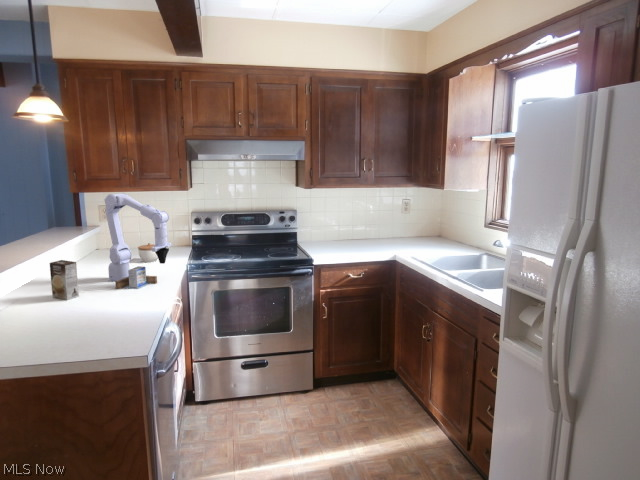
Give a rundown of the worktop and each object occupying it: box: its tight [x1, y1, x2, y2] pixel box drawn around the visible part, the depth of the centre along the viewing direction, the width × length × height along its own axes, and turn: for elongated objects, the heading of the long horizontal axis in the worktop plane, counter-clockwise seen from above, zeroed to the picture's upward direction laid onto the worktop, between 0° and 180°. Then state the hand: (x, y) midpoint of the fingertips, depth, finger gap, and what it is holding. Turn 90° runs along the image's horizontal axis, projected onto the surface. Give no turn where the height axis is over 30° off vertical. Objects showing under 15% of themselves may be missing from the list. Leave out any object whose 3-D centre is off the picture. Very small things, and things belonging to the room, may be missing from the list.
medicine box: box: [128, 265, 147, 288], centre depth 211 cm, size 8×4×9 cm, turn 170°
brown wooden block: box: [115, 275, 158, 290], centre depth 211 cm, size 13×14×4 cm
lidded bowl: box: [137, 242, 159, 263], centre depth 264 cm, size 13×13×11 cm
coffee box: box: [49, 259, 80, 301], centre depth 191 cm, size 9×6×16 cm
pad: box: [124, 283, 151, 290], centre depth 212 cm, size 7×11×1 cm, turn 170°
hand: (162, 263), depth 215 cm, fingers closed
